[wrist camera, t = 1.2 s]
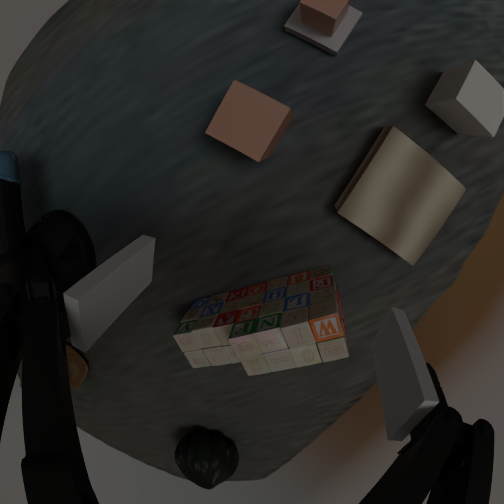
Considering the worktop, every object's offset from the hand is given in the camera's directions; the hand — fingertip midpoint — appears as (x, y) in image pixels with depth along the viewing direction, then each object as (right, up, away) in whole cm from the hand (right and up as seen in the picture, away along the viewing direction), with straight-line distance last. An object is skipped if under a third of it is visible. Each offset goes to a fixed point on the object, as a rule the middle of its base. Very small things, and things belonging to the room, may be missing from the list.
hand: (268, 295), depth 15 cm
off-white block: (+25, +21, +13) cm, 35 cm away
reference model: (+8, +30, +12) cm, 34 cm away
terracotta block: (0, +18, +19) cm, 26 cm away
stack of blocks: (+1, -5, +28) cm, 29 cm away
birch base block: (+18, +10, +19) cm, 28 cm away
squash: (-10, -43, +46) cm, 64 cm away
